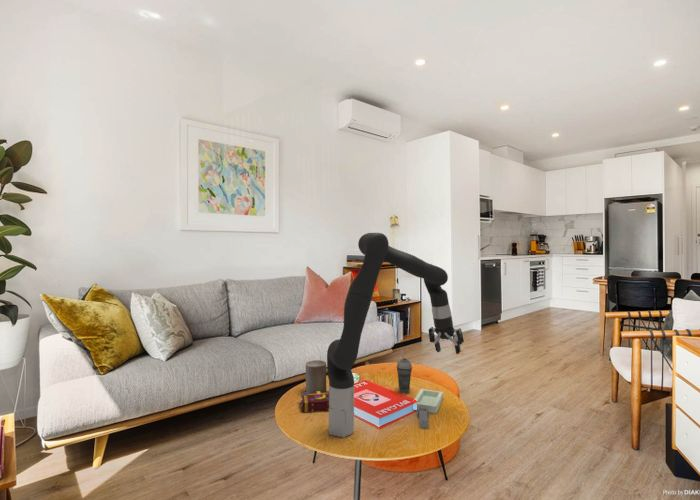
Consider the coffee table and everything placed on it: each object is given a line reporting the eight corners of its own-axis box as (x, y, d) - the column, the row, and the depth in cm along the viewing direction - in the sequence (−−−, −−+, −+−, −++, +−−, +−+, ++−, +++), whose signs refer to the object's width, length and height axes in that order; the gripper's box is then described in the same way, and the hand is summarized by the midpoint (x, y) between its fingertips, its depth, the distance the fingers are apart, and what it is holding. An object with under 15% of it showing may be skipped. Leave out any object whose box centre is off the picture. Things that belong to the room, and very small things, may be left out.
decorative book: (338, 411, 162) (338, 399, 162) (299, 414, 159) (299, 401, 159) (335, 400, 173) (335, 389, 173) (298, 402, 170) (298, 391, 170)
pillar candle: (330, 391, 183) (330, 359, 183) (318, 397, 175) (318, 364, 175) (313, 387, 188) (313, 356, 188) (301, 393, 180) (301, 361, 180)
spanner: (430, 429, 146) (430, 421, 146) (418, 428, 146) (418, 420, 146) (427, 414, 159) (427, 406, 159) (416, 413, 159) (416, 406, 159)
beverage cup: (407, 396, 177) (407, 352, 177) (393, 392, 181) (393, 349, 181) (414, 391, 183) (415, 349, 182) (401, 388, 187) (401, 346, 187)
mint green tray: (436, 414, 159) (436, 406, 159) (412, 410, 162) (412, 402, 162) (442, 398, 174) (443, 392, 174) (420, 395, 178) (420, 388, 178)
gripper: (422, 317, 163) (429, 354, 164) (454, 318, 153) (461, 357, 155) (430, 311, 168) (436, 347, 170) (461, 312, 159) (468, 350, 161)
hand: (448, 352), depth 162 cm, fingers open, 8 cm apart
